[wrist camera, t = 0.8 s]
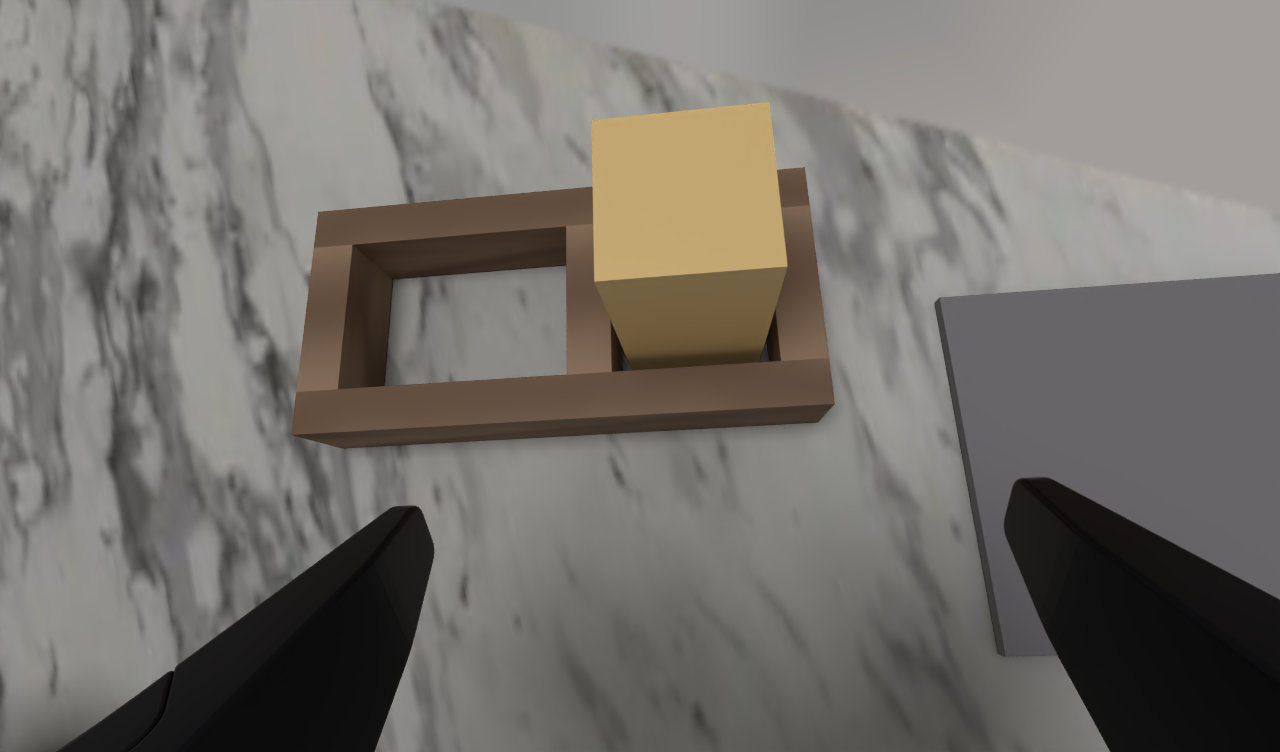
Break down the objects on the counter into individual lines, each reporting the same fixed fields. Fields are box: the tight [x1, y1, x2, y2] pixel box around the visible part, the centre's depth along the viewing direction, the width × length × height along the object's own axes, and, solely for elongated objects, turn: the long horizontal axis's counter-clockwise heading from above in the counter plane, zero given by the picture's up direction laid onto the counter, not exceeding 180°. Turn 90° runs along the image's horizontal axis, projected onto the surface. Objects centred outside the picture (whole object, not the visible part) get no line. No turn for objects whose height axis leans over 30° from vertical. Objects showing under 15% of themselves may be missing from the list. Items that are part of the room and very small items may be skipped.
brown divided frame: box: [291, 167, 835, 448], centre depth 22 cm, size 8×18×3 cm, turn 92°
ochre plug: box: [592, 102, 788, 370], centre depth 19 cm, size 4×4×9 cm
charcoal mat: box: [935, 273, 1280, 656], centre depth 20 cm, size 12×12×1 cm
